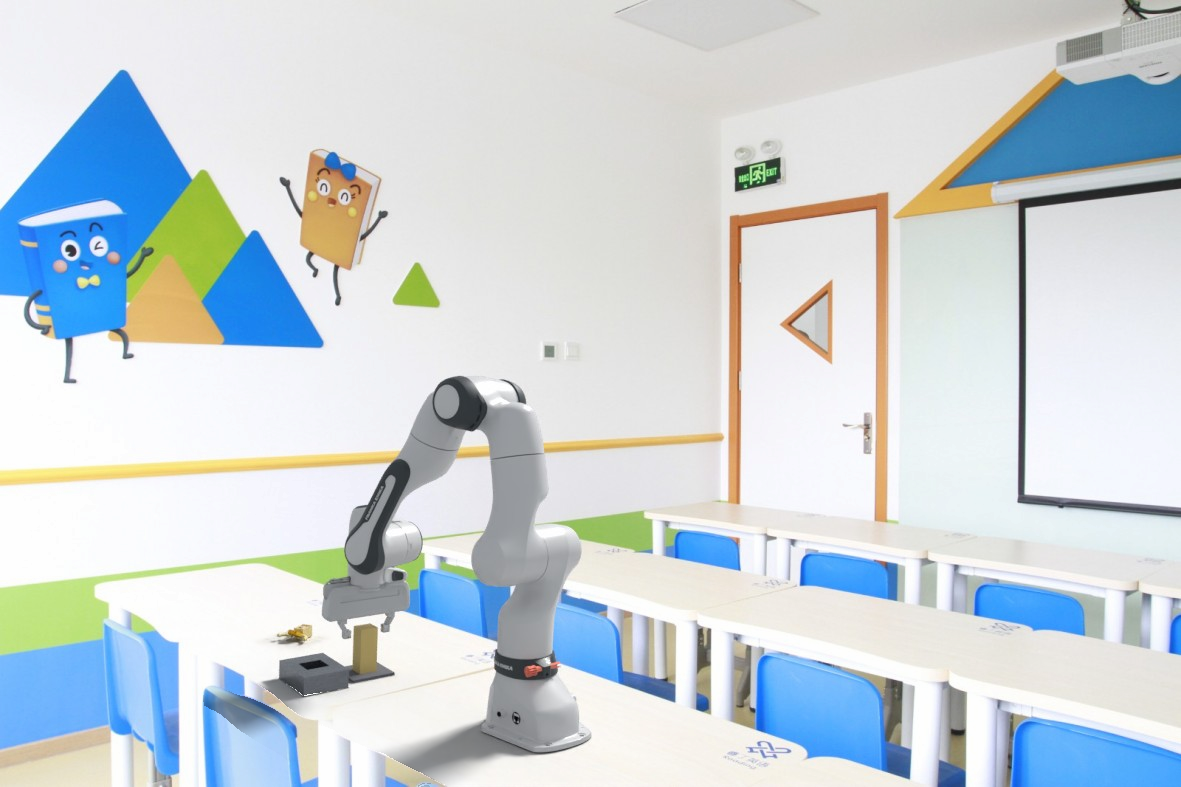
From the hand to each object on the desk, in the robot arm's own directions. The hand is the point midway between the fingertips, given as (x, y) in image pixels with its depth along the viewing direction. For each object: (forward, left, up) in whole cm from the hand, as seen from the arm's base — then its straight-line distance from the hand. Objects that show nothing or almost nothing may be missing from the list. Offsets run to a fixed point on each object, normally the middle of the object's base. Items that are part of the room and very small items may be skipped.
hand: (366, 635), depth 205 cm
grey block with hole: (0, +12, -9) cm, 15 cm away
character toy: (+33, +4, -10) cm, 35 cm away
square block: (0, 0, -8) cm, 8 cm away
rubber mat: (0, 0, -9) cm, 9 cm away
